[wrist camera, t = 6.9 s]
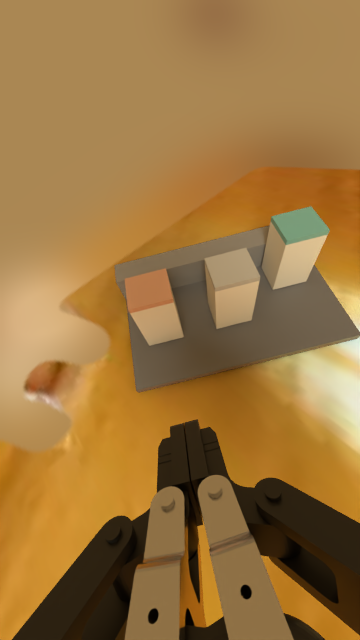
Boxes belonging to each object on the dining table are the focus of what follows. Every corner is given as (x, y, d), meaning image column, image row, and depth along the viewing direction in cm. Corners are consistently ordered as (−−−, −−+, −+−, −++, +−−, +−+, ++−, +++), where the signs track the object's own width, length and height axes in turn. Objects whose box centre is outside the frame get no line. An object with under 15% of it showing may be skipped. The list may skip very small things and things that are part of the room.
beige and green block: (272, 289, 32) (287, 240, 25) (261, 267, 34) (271, 216, 27) (306, 281, 32) (329, 229, 25) (292, 259, 34) (310, 206, 27)
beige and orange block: (149, 345, 31) (127, 310, 24) (145, 318, 33) (124, 278, 26) (183, 337, 30) (172, 298, 23) (177, 310, 33) (165, 268, 26)
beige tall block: (216, 328, 30) (215, 288, 23) (208, 303, 32) (204, 258, 25) (251, 320, 30) (260, 276, 23) (240, 294, 32) (246, 247, 25)
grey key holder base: (138, 392, 29) (124, 379, 25) (126, 288, 37) (114, 265, 33) (357, 338, 29) (380, 316, 24) (295, 245, 37) (305, 216, 33)
